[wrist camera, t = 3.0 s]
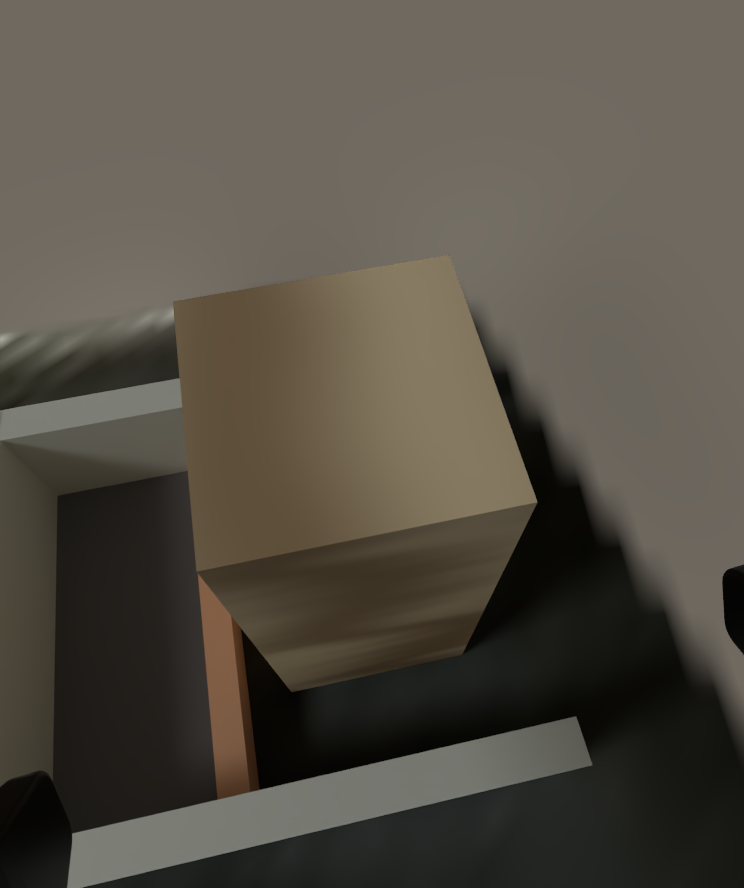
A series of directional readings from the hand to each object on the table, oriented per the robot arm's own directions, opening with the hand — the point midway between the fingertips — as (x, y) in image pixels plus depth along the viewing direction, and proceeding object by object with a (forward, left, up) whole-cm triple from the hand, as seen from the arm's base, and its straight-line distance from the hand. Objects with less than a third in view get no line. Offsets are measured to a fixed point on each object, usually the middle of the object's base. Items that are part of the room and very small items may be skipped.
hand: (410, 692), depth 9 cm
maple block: (0, -5, -11) cm, 12 cm away
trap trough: (+3, -5, -11) cm, 12 cm away
